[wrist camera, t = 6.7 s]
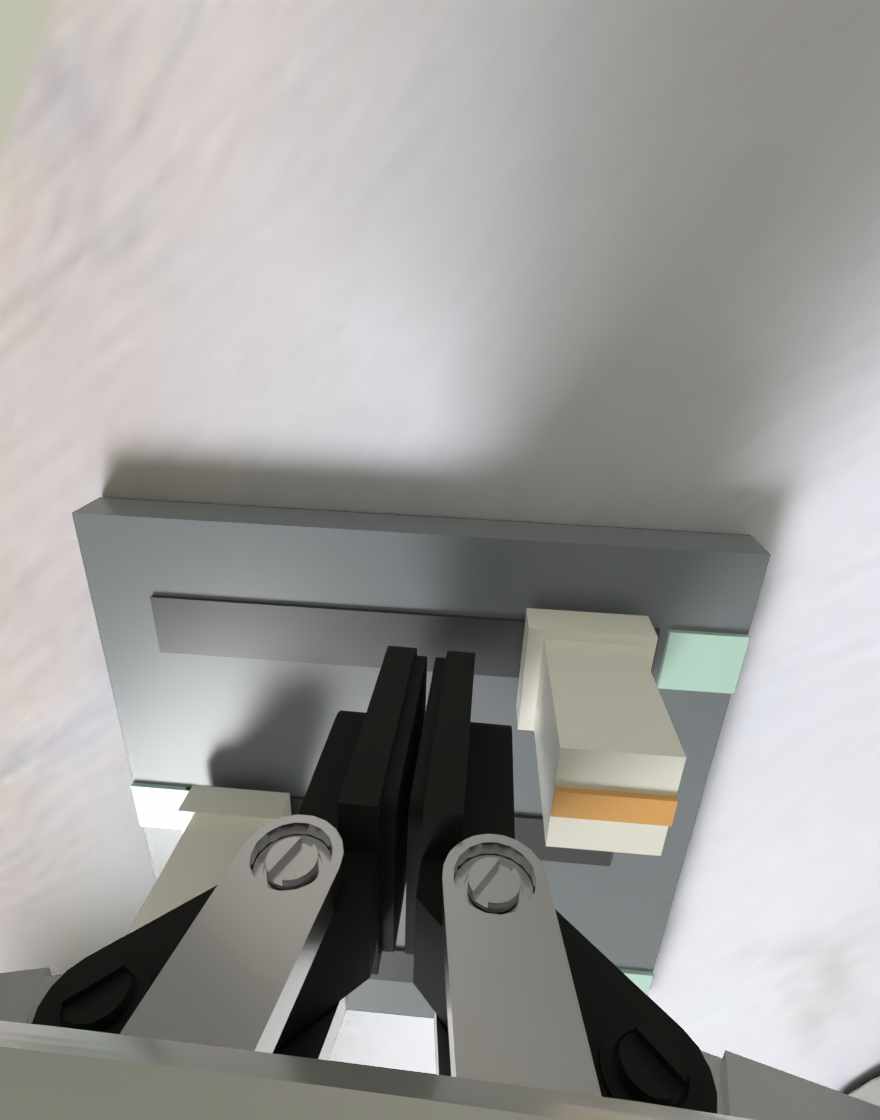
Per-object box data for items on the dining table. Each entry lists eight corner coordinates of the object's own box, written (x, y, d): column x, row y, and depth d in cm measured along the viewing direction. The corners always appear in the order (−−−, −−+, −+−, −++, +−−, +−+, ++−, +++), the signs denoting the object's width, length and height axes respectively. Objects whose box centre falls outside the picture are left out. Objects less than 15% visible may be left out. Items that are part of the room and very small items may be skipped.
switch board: (750, 535, 13) (772, 557, 12) (626, 1002, 19) (634, 1042, 18) (99, 497, 14) (68, 514, 13) (194, 960, 20) (179, 996, 19)
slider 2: (648, 615, 12) (712, 753, 9) (628, 713, 13) (679, 872, 10) (526, 607, 12) (541, 739, 9) (516, 704, 13) (525, 858, 10)
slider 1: (289, 793, 15) (227, 953, 11) (295, 862, 16) (240, 1030, 12) (192, 785, 15) (100, 940, 11) (205, 854, 16) (123, 1018, 12)
